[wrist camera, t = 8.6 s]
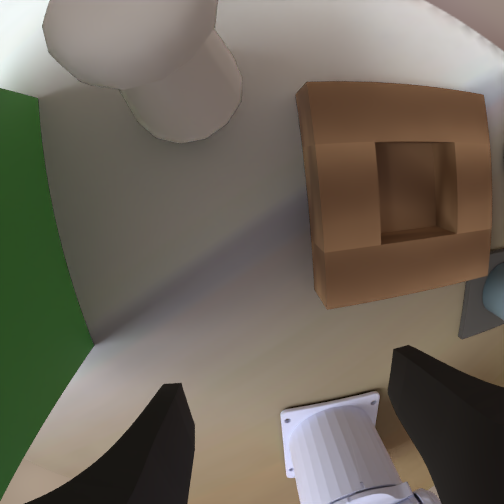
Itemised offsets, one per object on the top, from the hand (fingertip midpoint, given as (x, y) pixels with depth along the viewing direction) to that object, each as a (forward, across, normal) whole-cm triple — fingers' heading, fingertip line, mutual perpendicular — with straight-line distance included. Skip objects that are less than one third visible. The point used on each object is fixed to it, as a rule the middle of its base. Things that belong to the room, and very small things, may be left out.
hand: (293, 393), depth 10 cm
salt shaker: (+11, +3, -12) cm, 16 cm away
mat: (+10, -19, +4) cm, 22 cm away
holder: (+10, -9, -5) cm, 15 cm away
